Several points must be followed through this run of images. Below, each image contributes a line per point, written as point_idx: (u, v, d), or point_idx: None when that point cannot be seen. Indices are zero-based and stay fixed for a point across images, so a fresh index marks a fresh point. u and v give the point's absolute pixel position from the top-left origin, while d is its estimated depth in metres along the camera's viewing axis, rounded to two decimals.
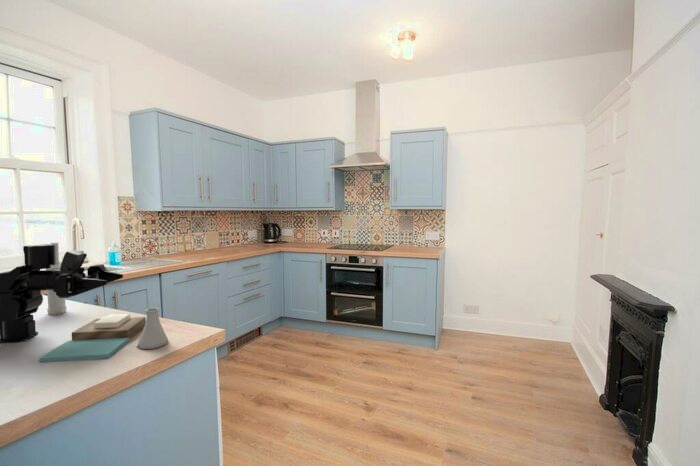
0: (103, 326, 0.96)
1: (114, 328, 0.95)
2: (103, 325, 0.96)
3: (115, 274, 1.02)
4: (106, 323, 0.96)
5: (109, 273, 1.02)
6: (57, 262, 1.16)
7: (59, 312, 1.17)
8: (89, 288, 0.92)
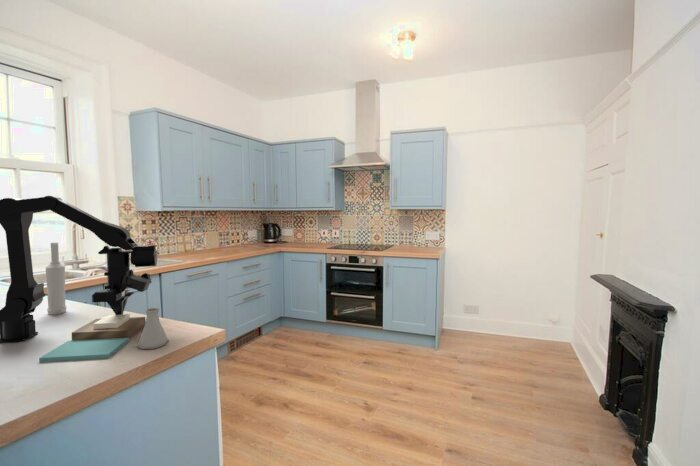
0: (103, 327, 0.95)
1: (114, 328, 0.95)
2: (103, 326, 0.95)
3: None
4: (105, 324, 0.95)
5: (123, 305, 1.04)
6: (57, 262, 1.16)
7: (59, 312, 1.17)
8: (112, 306, 1.02)
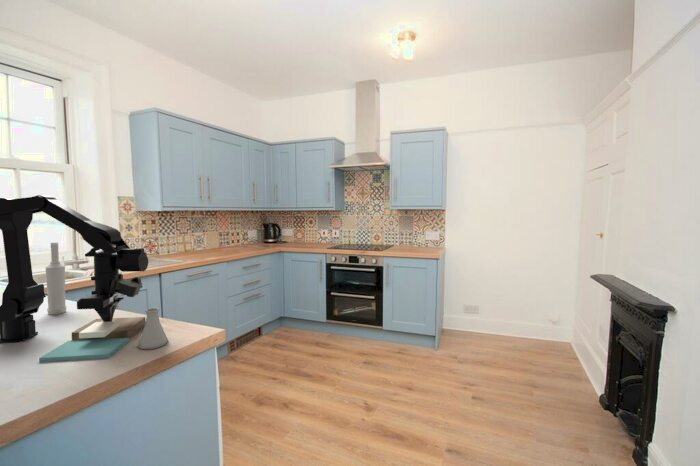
0: (89, 336, 0.88)
1: None
2: (89, 335, 0.88)
3: None
4: (92, 333, 0.88)
5: None
6: (57, 262, 1.16)
7: (59, 312, 1.17)
8: (100, 313, 0.95)
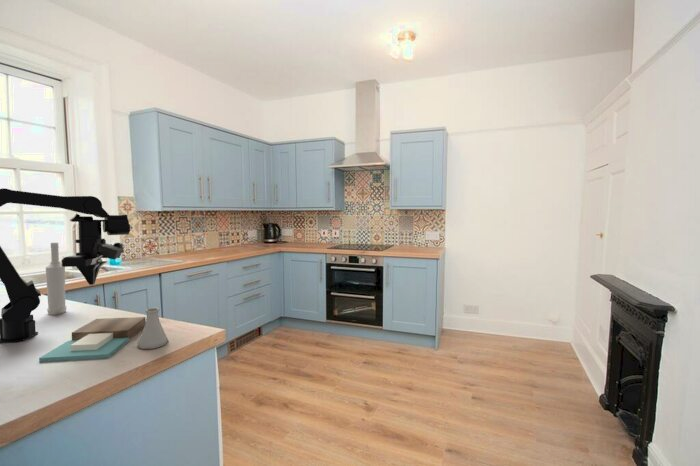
0: (81, 348, 0.85)
1: (114, 328, 0.95)
2: (81, 347, 0.85)
3: None
4: (84, 345, 0.85)
5: (95, 272, 1.06)
6: (57, 262, 1.16)
7: (59, 312, 1.17)
8: (83, 274, 1.04)
